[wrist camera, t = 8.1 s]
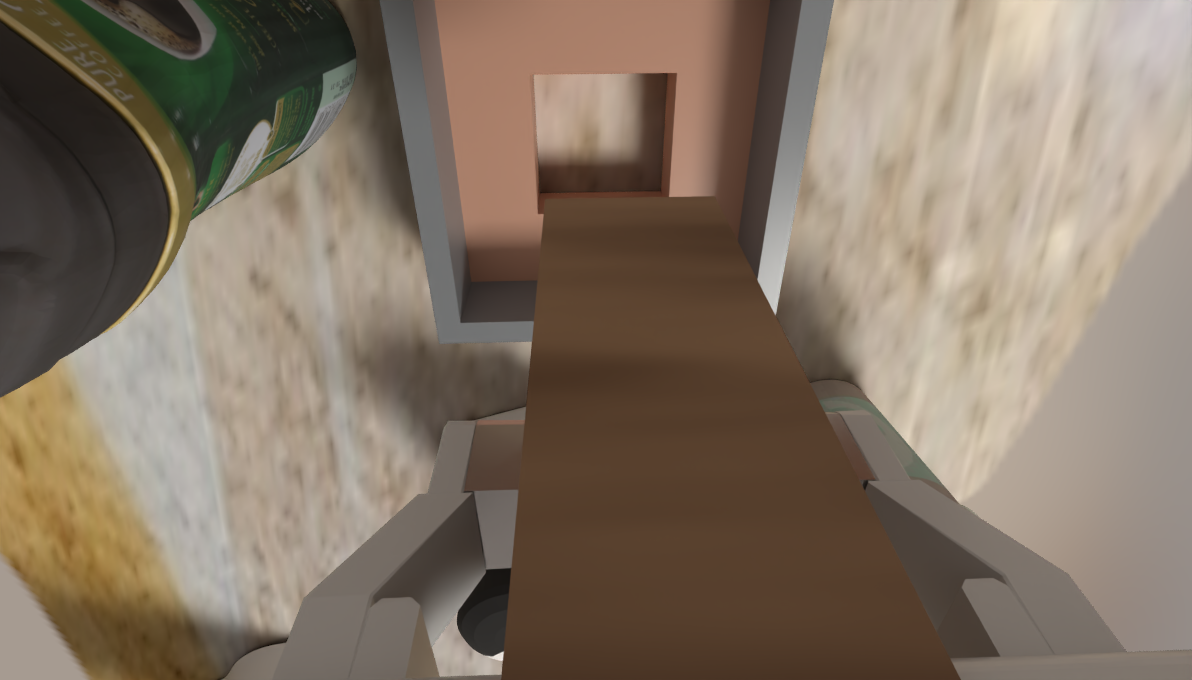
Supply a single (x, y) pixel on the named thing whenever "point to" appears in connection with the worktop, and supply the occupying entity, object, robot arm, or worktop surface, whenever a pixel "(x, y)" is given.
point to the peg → (688, 475)
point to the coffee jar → (139, 145)
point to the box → (592, 46)
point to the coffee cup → (852, 398)
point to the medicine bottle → (488, 596)
